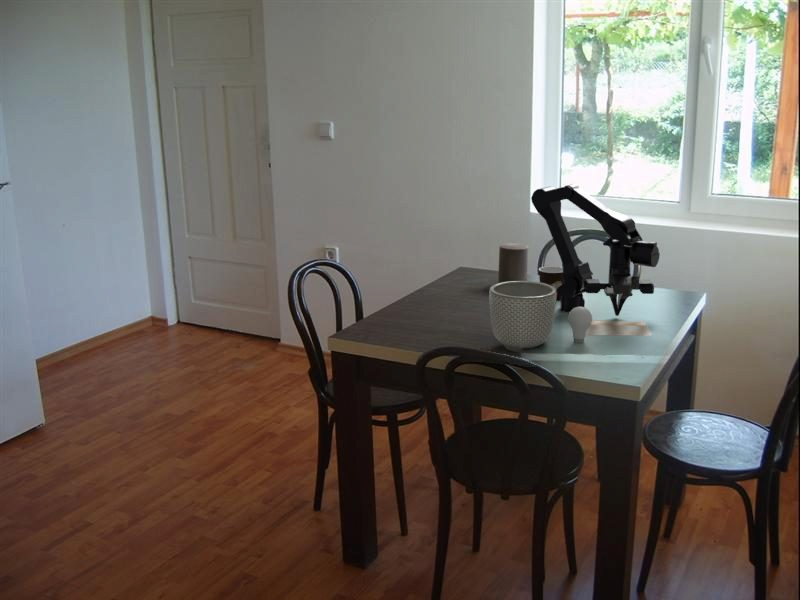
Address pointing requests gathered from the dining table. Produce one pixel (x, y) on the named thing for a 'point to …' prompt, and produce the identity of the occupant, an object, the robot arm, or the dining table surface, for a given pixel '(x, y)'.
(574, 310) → the lightbulb
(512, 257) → the pillar candle
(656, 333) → the dining table surface
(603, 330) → the board
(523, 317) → the planter
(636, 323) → the oak plank
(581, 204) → the robot arm
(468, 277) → the dining table surface
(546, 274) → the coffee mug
